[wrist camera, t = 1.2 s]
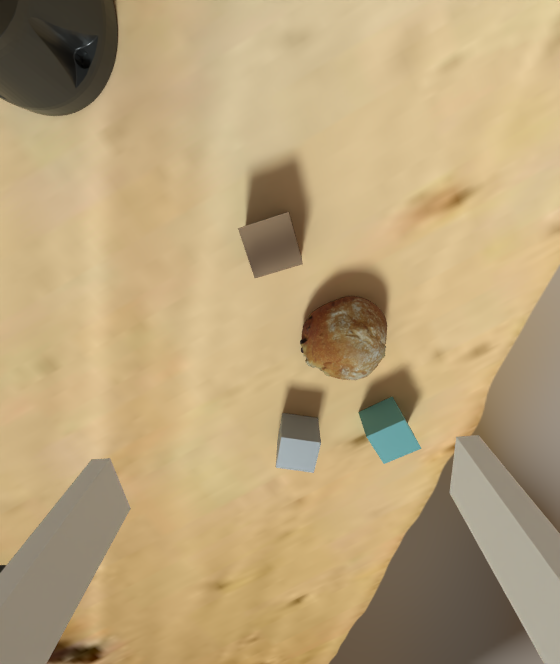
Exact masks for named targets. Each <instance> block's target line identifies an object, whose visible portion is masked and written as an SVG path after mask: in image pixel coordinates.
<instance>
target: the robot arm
mask: <svg viewBox="0 0 560 664" xmlns="http://www.w3.org/2000/svg"><path fill="white" fill-rule="evenodd" d="M116 50H117V21H116V13H115V8H114V3H113V0H0V98H1V99H3V100H5V101H7V102H9V103H11V104H14V105H16V106H19V107H21V108H24V109H27V110H29V111H32V112H35V113H38V114H43V115H49V116H61V115H68V114H72V113H75V112H77V111H79V110H81V109H83V108H85V107H86V106H88V105H89V104H90V103H92V102H93V101H94V100H95V99H96V98H97V97H98V96H99V94H100V93H101V92H102V90H103V89H104V87H105V85H106V84H107V82H108V79H109V77H110V75H111V72H112V69H113V66H114V62H115V57H116ZM450 494H451V496H452V498H453V500H454V502H455V504H456V505H457V507H458V509H459V511H460V513H461V514H462V516H463V518H464V520H465V522H466V523H467V525H468V527H469V528H470V531H471V532H472V534H473V536H474V538H475V540H476V541H477V543H478V545H479V547H480V549H481V550H482V552H483V554H484V556H485V558H486V560H487V561H488V563H489V565H490V567H491V569H492V570H493V572H494V574H495V576H496V577H497V579H498V581H499V583H500V584H501V586H502V588H503V590H504V592H505V593H506V596H507V597H508V599H509V601H510V603H511V605H512V606H513V608H514V610H515V612H516V614H517V615H518V617H519V619H520V621H521V623H522V624H523V626H524V628H525V630H526V632H527V634H528V635H529V637H530V639H531V641H532V643H533V644H534V646H535V648H536V650H537V651H538V653H539V655H540V657H541V659H542V661H543V662H544V664H560V534H559V532H558V531H557V530H556V529H555V528H554V526H553V525H552V524H551V523H550V522H549V520H548V519H547V518H546V517H545V516H544V514H543V513H542V512H541V511H540V509H539V508H538V507H537V506H536V505H535V503H534V502H533V501H532V500H531V498H530V497H529V496H528V495H527V494H526V492H525V491H524V490H523V489H522V488H521V486H520V485H519V484H518V483H517V481H516V480H515V479H514V478H513V477H512V475H511V474H510V473H509V472H508V471H507V470H506V468H505V467H504V466H503V464H501V462H500V461H499V460H498V458H497V457H496V456H495V455H494V454H493V452H492V451H491V450H490V449H489V447H488V446H487V445H486V444H485V443H484V441H483V440H482V439H481V438H480V437H479V436H462V437H456V444H455V453H454V462H453V469H452V478H451V486H450ZM130 509H131V508H130V506H129V504H128V501H127V499H126V496H125V494H124V491H123V489H122V486H121V484H120V481H119V479H118V476H117V474H116V472H115V469H114V467H113V464H112V462H111V459H110V458H108V459H92V460H91V461H90V462H89V463H88V465H87V466H86V467H85V468H84V470H83V471H82V472H81V473H80V475H79V476H78V477H77V478H76V480H75V481H74V482H73V483H72V485H71V486H70V487H69V488H68V490H67V491H66V492H65V493H64V495H63V496H62V497H61V498H60V499H59V501H58V502H57V503H56V504H55V506H54V507H53V508H52V509H51V511H50V512H49V513H48V514H47V516H46V517H45V518H44V519H43V521H42V522H41V523H40V524H39V526H38V527H37V528H36V529H35V531H34V532H33V533H32V534H31V535H30V537H29V538H28V539H27V540H26V542H25V543H24V544H23V545H22V547H21V548H20V549H19V550H18V552H17V553H16V554H15V555H14V557H13V558H12V559H11V560H10V562H9V563H8V564H7V565H0V664H46V663H47V661H48V659H49V658H50V656H51V654H52V652H53V650H54V648H55V646H56V645H57V643H58V641H59V639H60V637H61V635H62V634H63V632H64V630H65V628H66V626H67V624H68V623H69V621H70V619H71V617H72V615H73V613H74V612H75V610H76V608H77V606H78V604H79V602H80V600H81V599H82V597H83V595H84V593H85V591H86V589H87V588H88V586H89V584H90V582H91V580H92V578H93V577H94V575H95V573H96V571H97V569H98V567H99V566H100V564H101V562H102V560H103V558H104V556H105V555H106V553H107V551H108V549H109V547H110V545H111V543H112V542H113V540H114V538H115V536H116V534H117V532H118V531H119V529H120V527H121V525H122V523H123V521H124V520H125V518H126V516H127V514H128V512H129V510H130Z"/></svg>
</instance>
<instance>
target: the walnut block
mask: <svg viewBox="0 0 560 664" xmlns="http://www.w3.org/2000/svg"><path fill="white" fill-rule="evenodd" d="M238 230H239V233H240V236H241V239H242V242H243V244H244V247H245V250H246V253H247V256H248V259H249V262H250V265H251V268H252V271H253V274H254V277H255V278H258V277H261V276H264V275H268V274H271V273H274V272H278V271H281V270H284V269H288V268H291V267H294V266H298V265H301V264H303V263H302V258H301V254H300V250H299V246H298V243H297V239H296V235H295V232H294V228H293V225H292V221H291V217H290V214H289V212H287V213H283V214H280V215H277V216H274V217H271V218H268V219H265V220H262V221H259V222H256V223H253V224H250V225H247V226H244V227H241V228H238Z"/></svg>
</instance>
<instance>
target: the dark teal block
mask: <svg viewBox="0 0 560 664" xmlns="http://www.w3.org/2000/svg"><path fill="white" fill-rule="evenodd" d="M359 415H360V418H361V421H362V424H363V428H364V431H365V434H366V437H367V438H368V440H369V441H370V443H371V445H372V446H373V448H374V449H375V451H376V452H377V454H378V455H379V457H380V459H381V460H382V462H383V463H384V464H385V463H387V462H390V461H392V460H395V459H397V458H399V457H402V456H404V455H407V454H409V453H412V452H414V451H416V450H419V449H421V447H420V445H419V443H418V441H417V440H416V438H415V436H414V434H413V432H412V430H411V428H410V427H409V425H408V423H407V421H406V419H405V418H404V416H403V414H402V412H401V411H400V409H399V407H398V405H397V404H396V402H395V400H394V399H393V397H390V398H388V399H386V400H384V401H381V402H379V403H377V404H375V405H373V406H371V407H369V408H366V409H364V410H362V411H360V412H359Z"/></svg>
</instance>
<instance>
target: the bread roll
mask: <svg viewBox="0 0 560 664" xmlns="http://www.w3.org/2000/svg"><path fill="white" fill-rule="evenodd" d="M386 335H387V322H386V319H385V316H384V314H383V312H382V311H381V310H380V309H379V308H378V307H377V306H376V305H375V304H374V303H372V302H371V301H369V300H366V299H364V298H360V297H355V296H348V297H343V298H340V299H337V300H335V301H332V302H329V303H327V304H325V305H323V306H321V307H319V308H317V309H316V310H315V311H313V312H312V313H311V314H310V316H309V318H308V319H307V321H306V322H305V323H304V325H303V331H302V340H301V341H300V344H301V346H302V348H301V352H302V353H304V356H306V357H307V358H306V363H307V364H308V366H311V367H312V368H314V367H316V368H319V369H320V370H321V371H323V372H324V373H325V374H326V375H327V376H331V377H335V378H339V379H344V380H357V379H361V378H364V377H367V376H368V375H369V374H370V373H371V372H372V371H373V370H374V369H375V368H376V367H377V366H378V364H379V362H380V361H381V360H382V358H384V356H385V348H386V346H385V344H386Z"/></svg>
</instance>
